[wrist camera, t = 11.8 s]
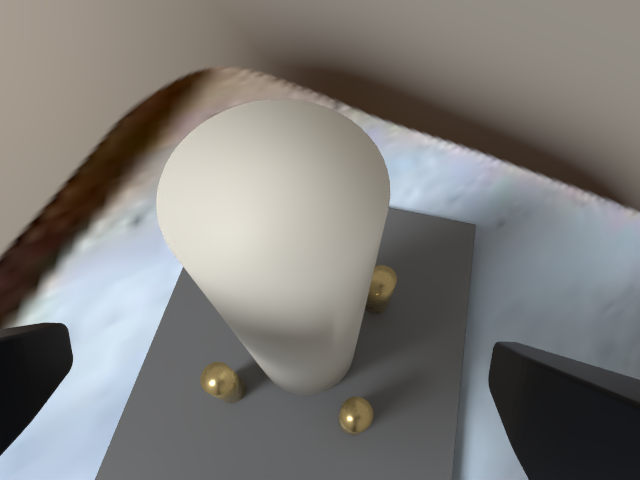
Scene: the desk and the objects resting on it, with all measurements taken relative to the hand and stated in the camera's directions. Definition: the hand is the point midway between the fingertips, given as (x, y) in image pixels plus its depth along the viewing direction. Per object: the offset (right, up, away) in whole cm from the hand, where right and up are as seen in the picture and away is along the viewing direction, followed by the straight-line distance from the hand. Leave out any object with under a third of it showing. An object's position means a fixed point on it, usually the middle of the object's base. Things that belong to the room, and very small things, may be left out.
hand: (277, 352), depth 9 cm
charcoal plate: (0, -3, +12) cm, 12 cm away
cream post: (0, -2, +11) cm, 11 cm away
